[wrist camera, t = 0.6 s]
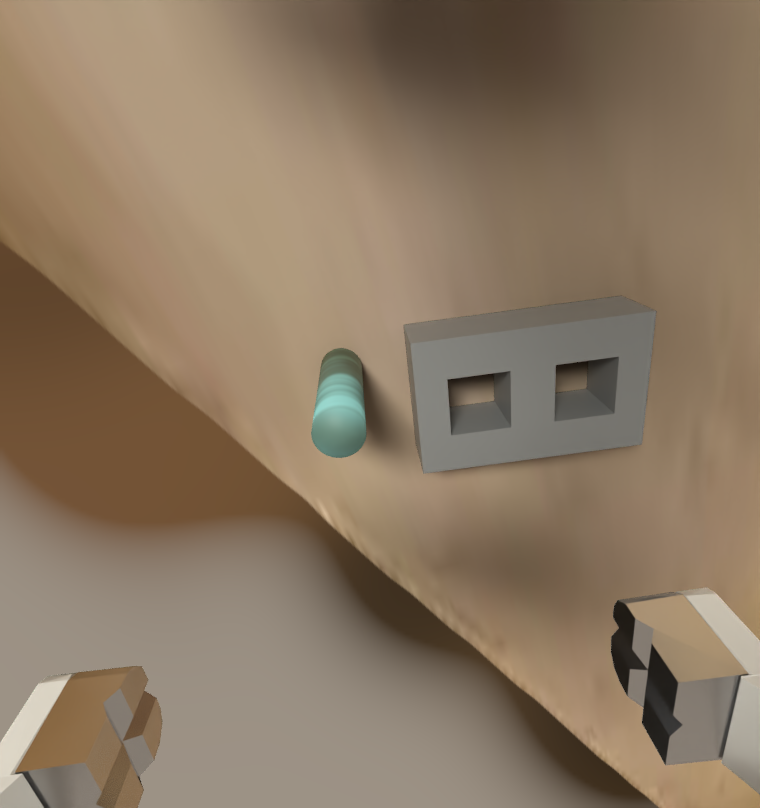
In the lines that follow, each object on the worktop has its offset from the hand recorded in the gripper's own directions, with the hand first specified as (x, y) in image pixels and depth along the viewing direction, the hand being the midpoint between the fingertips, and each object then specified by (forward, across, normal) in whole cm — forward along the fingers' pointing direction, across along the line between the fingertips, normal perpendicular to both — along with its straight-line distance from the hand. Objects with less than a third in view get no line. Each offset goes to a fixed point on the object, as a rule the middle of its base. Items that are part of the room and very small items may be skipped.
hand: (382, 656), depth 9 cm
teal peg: (+41, +3, +8) cm, 42 cm away
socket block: (+41, -14, +11) cm, 45 cm away
